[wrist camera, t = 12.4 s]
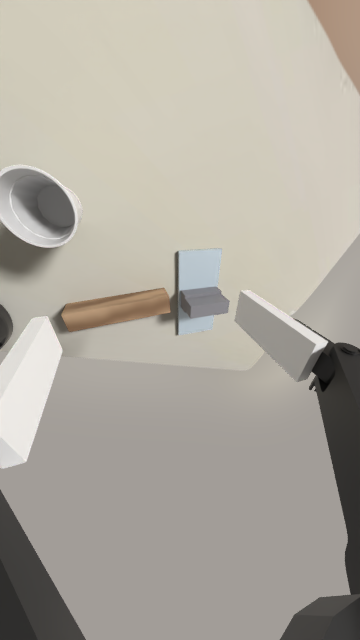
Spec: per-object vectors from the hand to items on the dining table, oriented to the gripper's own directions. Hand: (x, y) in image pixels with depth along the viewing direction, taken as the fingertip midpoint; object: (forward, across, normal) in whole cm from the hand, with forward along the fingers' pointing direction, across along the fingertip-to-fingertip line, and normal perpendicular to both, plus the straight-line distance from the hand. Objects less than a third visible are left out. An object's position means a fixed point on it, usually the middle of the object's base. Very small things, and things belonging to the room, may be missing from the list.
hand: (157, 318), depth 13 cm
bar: (+29, -4, -13) cm, 32 cm away
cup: (+29, -10, +6) cm, 31 cm away
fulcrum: (+29, +15, -13) cm, 35 cm away
